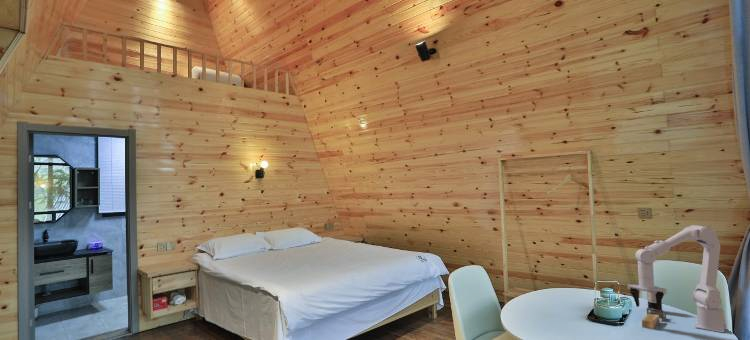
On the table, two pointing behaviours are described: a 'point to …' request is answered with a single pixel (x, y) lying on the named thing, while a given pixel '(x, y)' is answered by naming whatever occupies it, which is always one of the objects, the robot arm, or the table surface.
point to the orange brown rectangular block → (650, 321)
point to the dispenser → (657, 313)
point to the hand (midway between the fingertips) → (647, 307)
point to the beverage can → (653, 301)
